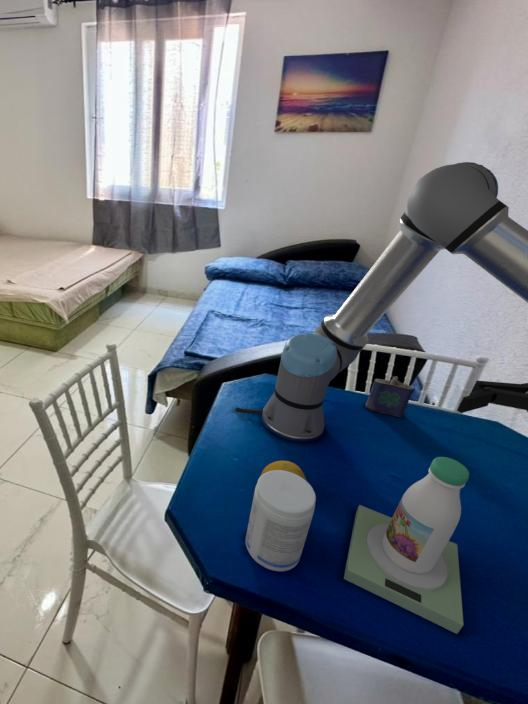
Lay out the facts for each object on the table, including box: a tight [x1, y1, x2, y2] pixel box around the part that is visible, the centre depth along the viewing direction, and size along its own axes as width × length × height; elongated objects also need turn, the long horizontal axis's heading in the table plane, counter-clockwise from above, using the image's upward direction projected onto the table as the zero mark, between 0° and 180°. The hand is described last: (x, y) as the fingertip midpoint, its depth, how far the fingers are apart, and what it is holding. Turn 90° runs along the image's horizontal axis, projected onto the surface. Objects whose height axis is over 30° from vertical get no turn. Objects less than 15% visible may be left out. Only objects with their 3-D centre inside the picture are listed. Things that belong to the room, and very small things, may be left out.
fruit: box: [260, 460, 307, 481], centre depth 82 cm, size 9×8×8 cm
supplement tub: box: [245, 470, 317, 572], centre depth 69 cm, size 10×10×15 cm
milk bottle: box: [382, 456, 470, 574], centre depth 64 cm, size 8×8×20 cm
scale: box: [343, 504, 465, 635], centre depth 70 cm, size 16×16×3 cm
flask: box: [365, 375, 414, 418], centre depth 109 cm, size 9×3×11 cm, turn 65°
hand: (506, 430), depth 61 cm, fingers open, 13 cm apart
